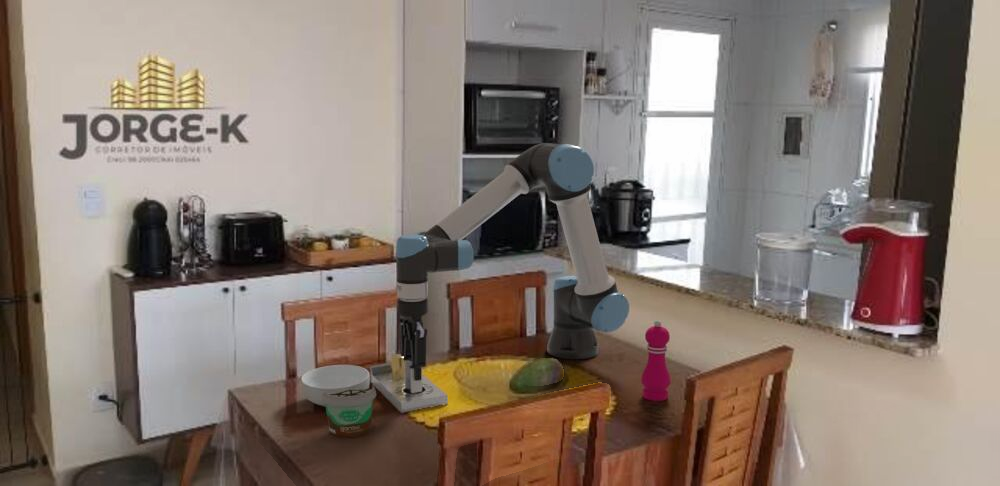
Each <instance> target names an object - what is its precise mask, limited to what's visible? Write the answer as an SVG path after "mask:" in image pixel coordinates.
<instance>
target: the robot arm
mask: <svg viewBox="0 0 1000 486" xmlns="http://www.w3.org/2000/svg"><path fill="white" fill-rule="evenodd" d="M594 175H595V166H594V162H593V159H592V157H591V156H590V154H589V153H588V152H587V151H586V150H585V149H584V148H582V147H579V146H575V145H574V144H568V143H565V144H563V143H562V144H559V143H551V142H545V143H544V142H542V143H539V144H535V145H533V146H532V147H530V148H528V149H526V150H525V151H523V152H522V153H521V154H519V155H518V156H517V157H515V158H514V159H513V160H511V161H509V162H508V163H507V164H506V165H504V169H503V172H502V173H501V174H499V175H497V176H496V177H495V178H494V179H493V180H491V181H490V182H489V183H488V184H486V185H485V186H484V187H483V188H481V189H480V190H479V191H477V192H476V193H474V194H473V195H471V197H469V198H468V199H467V200H466V201H464V202H463V203H462V204H460V205H459V206H458V207H457V208H455V209H454V210H453V211H451V213H449V214H448V215H446V216H445V217H444V218H443V219H441V220H440V221H439V222H437V223H436V224H435V225H434V226H432V227H431V228H429V229H428V230H426V231H418V232H416V233H415V234H405V235H401V236H399V237H398V238H397V240H396V249H395V257H396V258H395V259H396V263H395V264H396V286H395V287H394V289H395V291H396V296H397V300H396V312H397V315H399V316H401V317H399V318H398V321H399V322H398V323H399V331H400V332H399V336H400V354H401V356H402V357H403V359H404V361H405V360H406V359H408V358H412V366H409V367H410V369H411V393H416V392H422V375H423V368H424V367H427V366H426V365H427V363H426V362H427V335H428V329H427V328H424V323H423V320H422V319H423V316H425V315H427V314H428V312H429V311H428V309H429V308H428V307H429V306H428V305H429V302H428V301H429V300H428V298H427V297H428V296H429V281H428V279H429V278H428V274H430V273H431V274H432V273H440V272H441V273H442V272H452V271H453V272H455V271H458V272H459V271H462V270H468V269H469V268H471V267H472V265H473V263H474V256H475V255H474V254H475V253H474V249H473V246H472V243H471V242H470V241H468V240H467V239H465V238H466V237H467V236H468V235H470V234H471V233H472V232H474V231H475V230H476V229H477V228H479V227H480V226H481V225H482V224H484V223H485V222H486V221H488V220H489V219H490V218H491V217H493V216H494V215H495V214H497V213H498V212H500V210H502V209H503V208H504V207H505V206H507V205H508V204H510V203H511V201H513V200H514V199H515V198H517V197H518V196H520V195H521V194H523V195H527V194H528V193H529V192H531V191H532V190H533V189H536V188H539V187H542V186H544V187H545V190H546V193H547V197H548V199H549V201H550V202H552V203H553V204H556V208H557V211H558V212H557V213H558V216H559V220H560V223H561V227H562V229H563V233H564V237H565V240H566V244H567V248H568V251H569V255H570V260H571V261H572V262H571V263H572V266H573V270H574V274H575V275H565V276H560V277H557V278H556V279H555V281H554V282H553V283H554V284H553V289H552V290H553V291H552V292H553V326H552V329H551V332H550V336H549V338H548V341H547V345H546V346H547V354H549V355H550V356H553V357H556V358H559V359H565V360H585V359H586V360H587V359H590V358H594V357H596V356H597V355H598V354H599V343H598V340H597V337H596V334H595V331H598V332H601V333H606V334H607V333H613V332H615V331H617V330H619V329H620V328H621V327H623V325H624V324H625V322H626V320H627V318H628V316H629V314H630V313H629V312H630V302H629V300H628V298H627V297H626V296H625V295H624V294H623V293H622V292H619V290H618V287H617V283H616V279H615V278H614V277H613V276H611V275H609V274H608V270H607V267H606V262H605V259H604V255H603V254H604V253H603V252H602V251H603V250H602V247H601V243H600V241H599V240H600V239H599V236H598V232H597V227H596V225H595V220H594V216H593V213H592V209H591V206H590V205H591V204H590V202H589V197H588V195H589V193H590V191H592V187H591V183H592V180H593V177H594ZM423 328H424V329H423ZM405 387H406V380H405Z"/></svg>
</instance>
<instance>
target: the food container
mask: <svg viewBox="0 0 1000 486" xmlns="http://www.w3.org/2000/svg"><path fill="white" fill-rule="evenodd" d="M376 397H377V391H376V387H375V386H374V385H373V384H372V386H371V387H369V388H368V389H364V390H347V391H344V392H340V393H336V394H327V393H325V392H324V394H323V395H322V401H323V402H324V403H325V406H326V407H325V410H326V416H327V417H326V418H327V425H328V431H329V434H330V435H331V436H333V437H335V438H339V439H357V438H361V437H363V436H365V435H367V434H369V433H370V432H371V430H372V421H373V406H374V404H373V403H374V399H375V398H376Z"/></svg>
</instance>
